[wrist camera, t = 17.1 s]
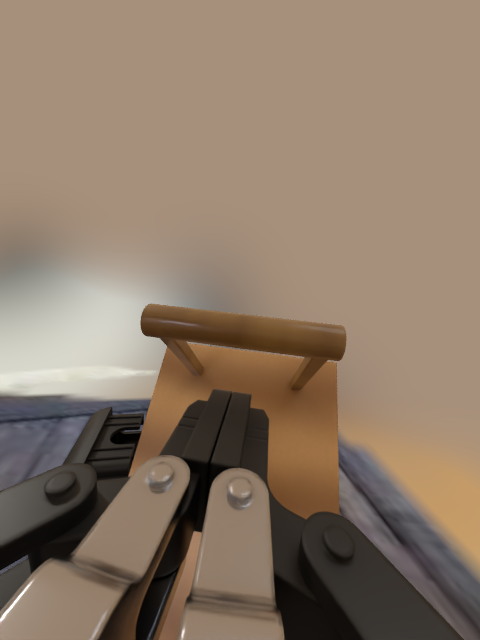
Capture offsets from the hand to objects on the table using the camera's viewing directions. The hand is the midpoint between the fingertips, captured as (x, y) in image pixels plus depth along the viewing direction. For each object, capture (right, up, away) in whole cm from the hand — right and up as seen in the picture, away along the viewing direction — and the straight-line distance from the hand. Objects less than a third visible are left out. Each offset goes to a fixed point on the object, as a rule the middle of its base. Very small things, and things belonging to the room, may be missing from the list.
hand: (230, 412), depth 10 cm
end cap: (-16, -16, +20) cm, 30 cm away
